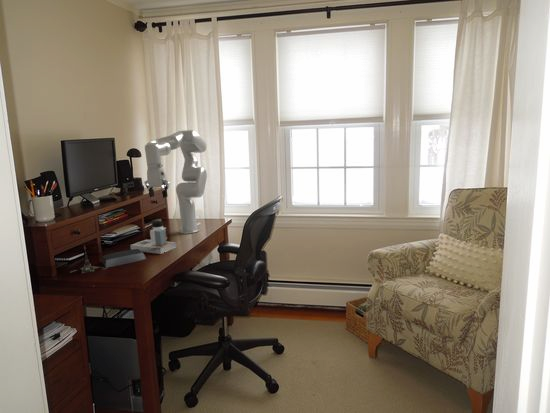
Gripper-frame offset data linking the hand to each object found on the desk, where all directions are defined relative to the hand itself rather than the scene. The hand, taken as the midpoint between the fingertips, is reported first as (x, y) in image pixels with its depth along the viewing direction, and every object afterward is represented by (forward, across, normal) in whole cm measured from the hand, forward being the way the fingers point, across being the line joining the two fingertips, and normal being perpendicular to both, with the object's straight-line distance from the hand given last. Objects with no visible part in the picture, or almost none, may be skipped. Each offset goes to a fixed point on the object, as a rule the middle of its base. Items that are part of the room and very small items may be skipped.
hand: (158, 196), depth 223 cm
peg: (+27, -6, +10) cm, 30 cm away
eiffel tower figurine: (+27, +5, +47) cm, 54 cm away
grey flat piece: (+27, 0, +9) cm, 29 cm away
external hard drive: (+27, 0, +30) cm, 41 cm away
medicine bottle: (+28, +10, -6) cm, 30 cm away
